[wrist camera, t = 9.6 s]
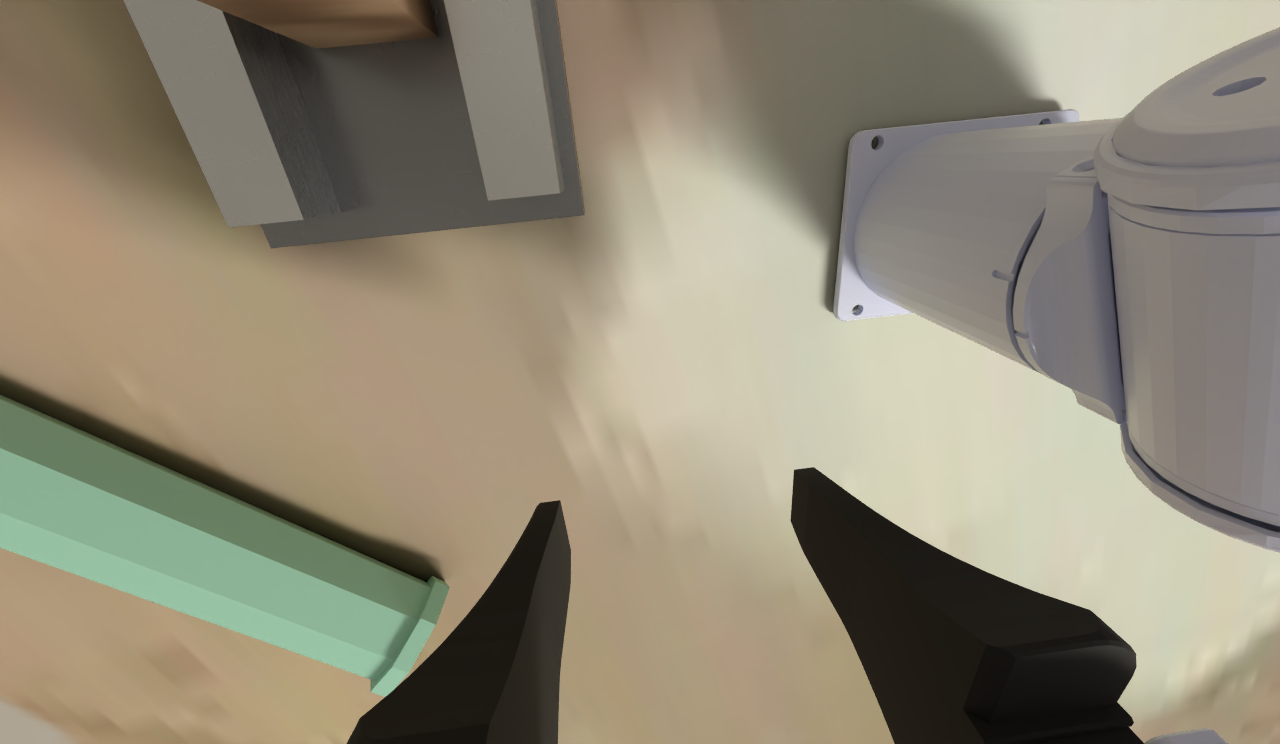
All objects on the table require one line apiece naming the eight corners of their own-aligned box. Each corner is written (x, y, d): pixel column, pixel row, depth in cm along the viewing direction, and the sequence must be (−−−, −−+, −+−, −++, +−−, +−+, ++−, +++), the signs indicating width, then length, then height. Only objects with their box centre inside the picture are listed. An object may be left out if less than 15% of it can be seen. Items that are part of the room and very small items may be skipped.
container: (-394, 481, 14) (371, 727, 22) (-254, 327, 15) (443, 620, 22) (-142, 437, 20) (396, 645, 28) (-48, 326, 20) (454, 561, 28)
